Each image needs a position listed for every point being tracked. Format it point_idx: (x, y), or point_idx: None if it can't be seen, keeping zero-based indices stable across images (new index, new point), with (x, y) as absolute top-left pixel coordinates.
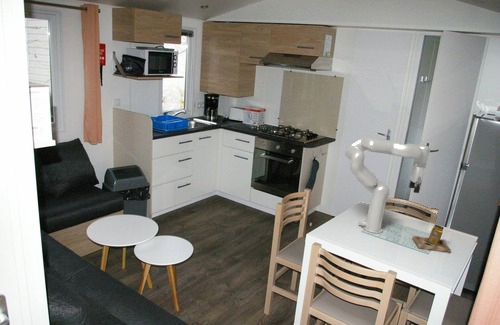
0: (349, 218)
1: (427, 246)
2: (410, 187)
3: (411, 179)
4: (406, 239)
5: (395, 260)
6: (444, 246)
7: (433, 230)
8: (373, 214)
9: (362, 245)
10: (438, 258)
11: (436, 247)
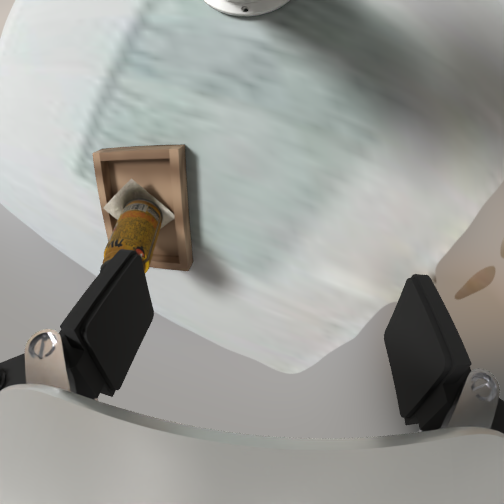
0: None
1: (98, 184)
2: (404, 293)
3: (260, 490)
4: (173, 116)
5: (12, 64)
6: None
7: (113, 239)
8: None
9: None
10: (65, 200)
11: (104, 217)
